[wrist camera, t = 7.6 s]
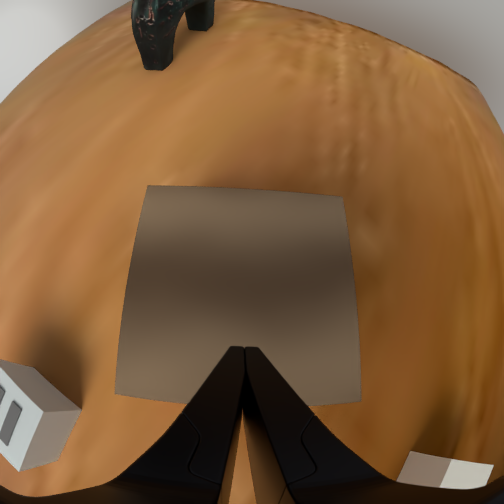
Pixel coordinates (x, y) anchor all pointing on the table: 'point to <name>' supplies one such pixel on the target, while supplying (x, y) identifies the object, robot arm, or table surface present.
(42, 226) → the table surface
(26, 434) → the grey numeral block
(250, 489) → the table surface
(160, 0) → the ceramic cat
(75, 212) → the table surface
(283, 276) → the plain walnut block
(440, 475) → the offwhite numeral block
